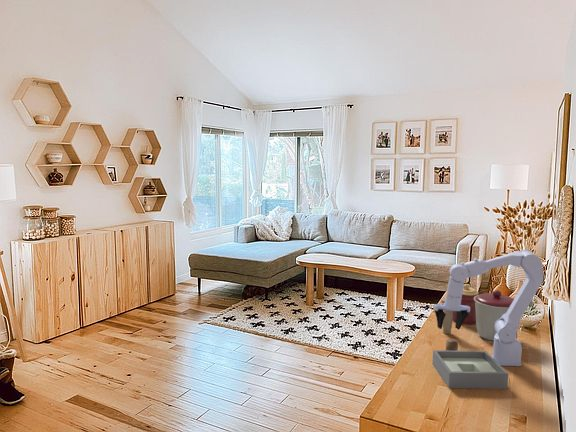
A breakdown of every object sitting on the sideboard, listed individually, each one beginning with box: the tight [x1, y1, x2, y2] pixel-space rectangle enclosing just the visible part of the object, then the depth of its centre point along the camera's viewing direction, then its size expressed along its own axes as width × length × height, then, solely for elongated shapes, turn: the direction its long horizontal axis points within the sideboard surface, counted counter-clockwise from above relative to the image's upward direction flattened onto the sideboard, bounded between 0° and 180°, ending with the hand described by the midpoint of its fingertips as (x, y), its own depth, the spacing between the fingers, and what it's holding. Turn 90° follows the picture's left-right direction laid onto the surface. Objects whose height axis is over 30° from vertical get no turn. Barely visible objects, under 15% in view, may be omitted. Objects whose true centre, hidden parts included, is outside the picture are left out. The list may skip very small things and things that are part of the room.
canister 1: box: [452, 283, 480, 325], centre depth 223 cm, size 13×13×18 cm
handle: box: [440, 297, 453, 335], centre depth 206 cm, size 5×6×15 cm
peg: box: [445, 338, 459, 351], centre depth 184 cm, size 4×4×6 cm
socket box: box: [431, 349, 509, 390], centre depth 167 cm, size 20×18×6 cm
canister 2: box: [474, 289, 515, 342], centre depth 202 cm, size 18×18×21 cm
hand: (448, 328), depth 183 cm, fingers open, 7 cm apart
